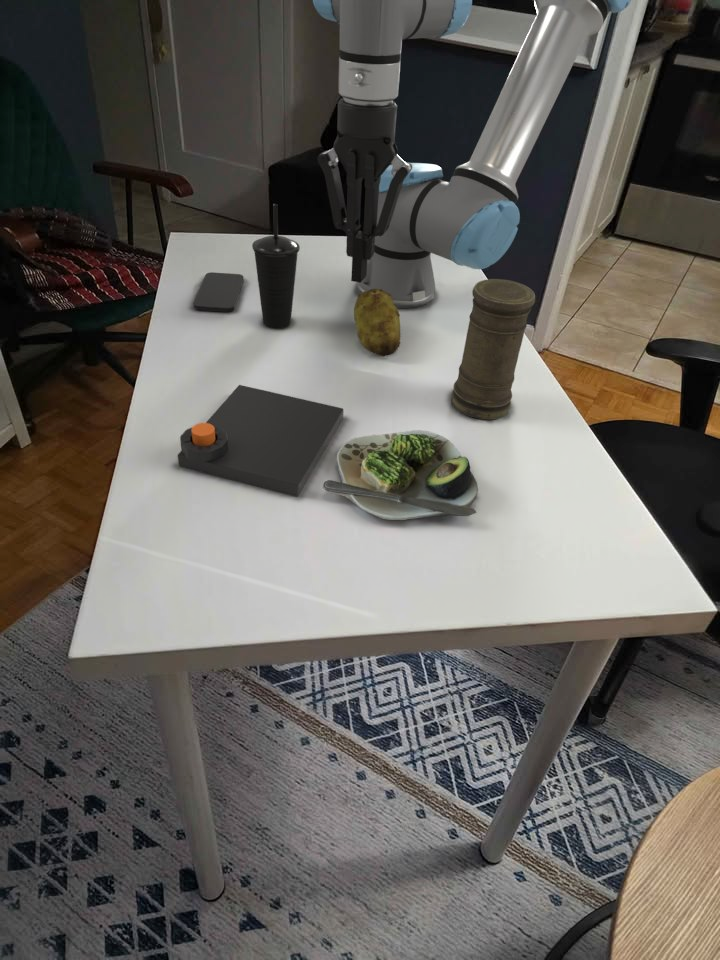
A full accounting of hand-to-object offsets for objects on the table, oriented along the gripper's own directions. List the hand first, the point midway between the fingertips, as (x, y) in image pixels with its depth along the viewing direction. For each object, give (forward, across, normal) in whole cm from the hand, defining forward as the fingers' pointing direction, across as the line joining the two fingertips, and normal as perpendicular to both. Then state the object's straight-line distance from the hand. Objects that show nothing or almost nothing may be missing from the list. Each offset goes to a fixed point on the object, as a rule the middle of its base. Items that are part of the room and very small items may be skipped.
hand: (358, 278), depth 97 cm
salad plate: (+13, +17, -27) cm, 34 cm away
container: (+14, +22, -5) cm, 26 cm away
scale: (+13, -4, -27) cm, 30 cm away
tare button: (+10, -9, -33) cm, 36 cm away
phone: (+14, -31, +12) cm, 36 cm away
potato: (+14, +1, +7) cm, 16 cm away
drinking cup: (+14, -17, +6) cm, 22 cm away
